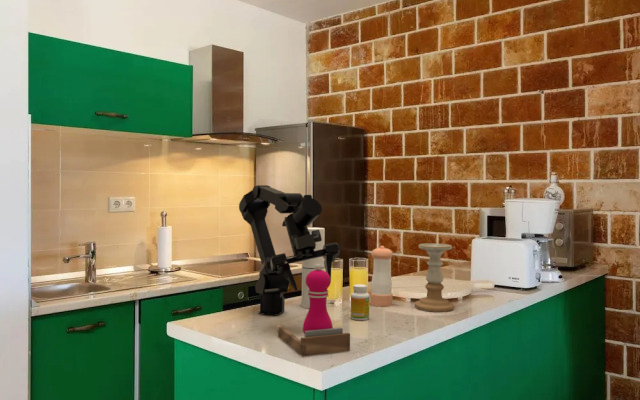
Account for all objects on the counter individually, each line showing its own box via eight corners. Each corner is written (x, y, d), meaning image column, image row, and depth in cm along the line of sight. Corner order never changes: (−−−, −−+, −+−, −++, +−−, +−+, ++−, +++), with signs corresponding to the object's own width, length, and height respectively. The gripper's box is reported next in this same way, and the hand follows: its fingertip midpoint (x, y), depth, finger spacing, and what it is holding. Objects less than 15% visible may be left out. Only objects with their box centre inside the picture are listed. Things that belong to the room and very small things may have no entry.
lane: (278, 336, 140) (278, 320, 140) (321, 331, 145) (321, 316, 145) (302, 356, 124) (302, 338, 124) (349, 350, 129) (350, 333, 128)
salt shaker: (366, 304, 178) (367, 246, 178) (376, 300, 184) (376, 244, 184) (386, 307, 174) (387, 247, 174) (396, 303, 181) (396, 245, 180)
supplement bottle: (367, 321, 157) (368, 287, 156) (349, 320, 158) (349, 286, 157) (370, 316, 162) (370, 284, 162) (352, 315, 163) (352, 283, 163)
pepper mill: (301, 342, 135) (302, 261, 135) (330, 341, 136) (331, 261, 135) (303, 351, 128) (304, 265, 127) (334, 350, 129) (335, 265, 128)
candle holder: (451, 313, 167) (452, 248, 166) (411, 310, 171) (412, 245, 171) (456, 305, 178) (457, 244, 178) (418, 302, 183) (419, 242, 182)
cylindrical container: (307, 309, 170) (308, 229, 170) (297, 305, 177) (298, 227, 176) (327, 307, 174) (328, 228, 173) (317, 303, 180) (318, 227, 179)
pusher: (304, 352, 127) (304, 330, 126) (340, 348, 130) (340, 327, 130) (306, 353, 126) (306, 332, 125) (342, 349, 129) (342, 328, 129)
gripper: (266, 228, 142) (280, 284, 135) (334, 214, 146) (351, 268, 139) (265, 245, 152) (278, 298, 145) (329, 231, 156) (345, 282, 149)
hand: (313, 286), depth 144 cm, fingers open, 9 cm apart
